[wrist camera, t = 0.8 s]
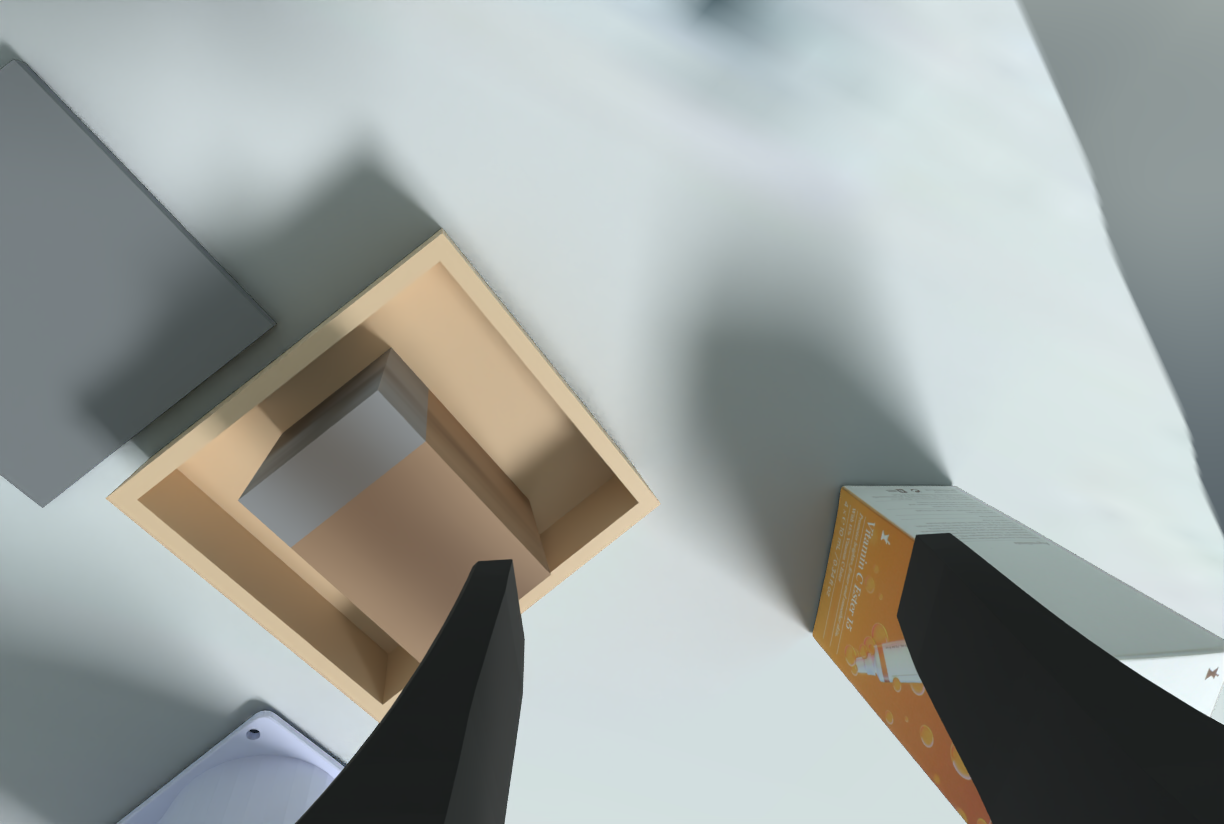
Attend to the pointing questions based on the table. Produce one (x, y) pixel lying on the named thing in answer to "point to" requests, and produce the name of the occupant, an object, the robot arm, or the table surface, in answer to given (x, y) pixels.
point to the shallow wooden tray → (470, 390)
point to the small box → (1055, 577)
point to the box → (394, 502)
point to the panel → (94, 297)
